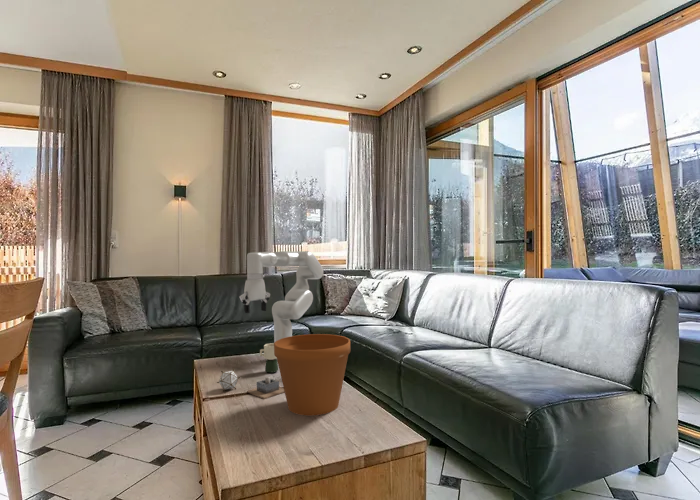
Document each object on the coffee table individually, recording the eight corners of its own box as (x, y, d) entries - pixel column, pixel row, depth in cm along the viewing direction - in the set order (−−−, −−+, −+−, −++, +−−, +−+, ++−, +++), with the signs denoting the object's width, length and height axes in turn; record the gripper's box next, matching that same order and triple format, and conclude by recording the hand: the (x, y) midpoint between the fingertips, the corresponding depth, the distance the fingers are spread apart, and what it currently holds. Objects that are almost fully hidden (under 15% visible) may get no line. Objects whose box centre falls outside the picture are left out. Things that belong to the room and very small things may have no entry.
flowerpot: (268, 398, 152) (268, 337, 153) (336, 388, 162) (335, 331, 163) (283, 427, 126) (282, 353, 127) (363, 413, 136) (362, 345, 137)
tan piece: (271, 385, 169) (271, 371, 169) (288, 391, 160) (288, 377, 161) (247, 392, 160) (246, 378, 160) (264, 399, 152) (264, 384, 152)
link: (269, 386, 165) (269, 378, 165) (279, 389, 160) (278, 381, 160) (256, 390, 160) (256, 381, 160) (266, 394, 156) (266, 385, 156)
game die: (223, 399, 163) (208, 380, 163) (237, 386, 170) (223, 368, 170) (234, 392, 158) (219, 373, 158) (248, 379, 165) (233, 360, 165)
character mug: (281, 368, 193) (281, 342, 194) (284, 372, 187) (283, 345, 187) (259, 371, 190) (259, 344, 190) (260, 375, 183) (260, 347, 183)
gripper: (265, 276, 203) (265, 309, 203) (235, 278, 191) (236, 313, 190) (273, 276, 198) (274, 310, 198) (244, 278, 185) (244, 314, 185)
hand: (255, 311), depth 194 cm, fingers open, 9 cm apart
